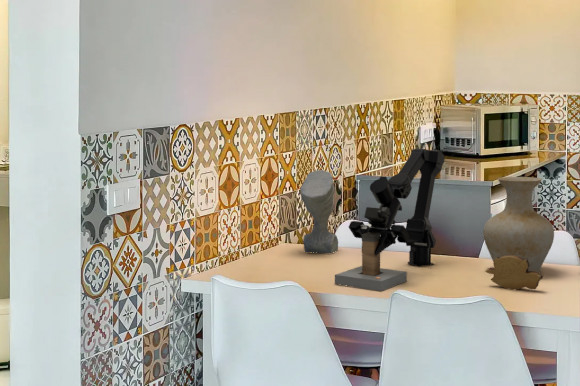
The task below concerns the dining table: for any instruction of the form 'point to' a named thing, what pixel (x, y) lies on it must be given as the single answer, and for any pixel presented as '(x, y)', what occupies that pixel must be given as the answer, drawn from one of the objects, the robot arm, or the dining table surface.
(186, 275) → the dining table surface
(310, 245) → the sculpture
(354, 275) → the socket
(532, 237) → the vase
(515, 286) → the wooden carving
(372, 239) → the plug
